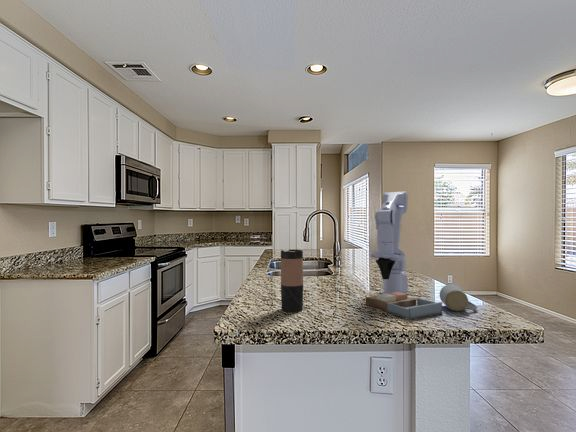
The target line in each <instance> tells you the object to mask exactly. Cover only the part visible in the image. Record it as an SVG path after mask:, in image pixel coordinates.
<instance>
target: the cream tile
mask: <svg viewBox="0 0 576 432" xmlns="http://www.w3.org/2000/svg"><path fill="white" fill-rule="evenodd" d="M376 296H377V299H378V300H381V301H384V302H390V301H396V296H395V295H391V294H387V293H385V294H382V293H379V294H376Z"/></svg>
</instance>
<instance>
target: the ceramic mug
mask: <svg viewBox="0 0 576 432" xmlns="http://www.w3.org/2000/svg"><path fill="white" fill-rule="evenodd" d="M439 298H440V302H442V304H444V306H445V307H446V308H448V309H449V310H451V311H453V312H462V311H464V310H465V309H468V310H471V311H473V312H475V311H477V309H478V306H477V305H476V304H474V303H473V302H471V301H469V298H468V295H467V294H466V293H465V292H464V291H463V290H462V289H461V287H459V285H456V284H445V285H444V286H442V288H441V289H440V291H439Z"/></svg>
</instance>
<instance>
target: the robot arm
mask: <svg viewBox="0 0 576 432" xmlns="http://www.w3.org/2000/svg"><path fill="white" fill-rule="evenodd" d="M408 200H409V197H408V192H407V191H406V190H405V191H391V192H389V191H388V192H387V191H384V193H383V194H382V205H381V207H380V209H378V210H377V211H375V213H374V220H375V228H376V232H377V233H376V234H377V235H376V236H377V237H376V238H377V239H376V240H377V242H376V243H377V244H376V245H377V246H376V247H377V252H375V251H374V252H373V251H372V252H370V253H369V257H370V259H373V258H375V259H376V260H375V262H376V265H377V266H378V268H379V271H380V275H381V278H382V281H383V282H382V283H383V285H382V286H383V290H379V291H378V293H379V294H385V293H387V294H388V293H391V292H401V293H405V294H407V295H410V292H408V291H409V289H408V286H409V285H408V275H407V274H406V272H404V271H406V253H405V252H404V251H403V250H402V249H401V248H400V240H401V239H400V235H401V222H402V218H403V215H404V214H406V213H407V210H408V202H409V201H408Z"/></svg>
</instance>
